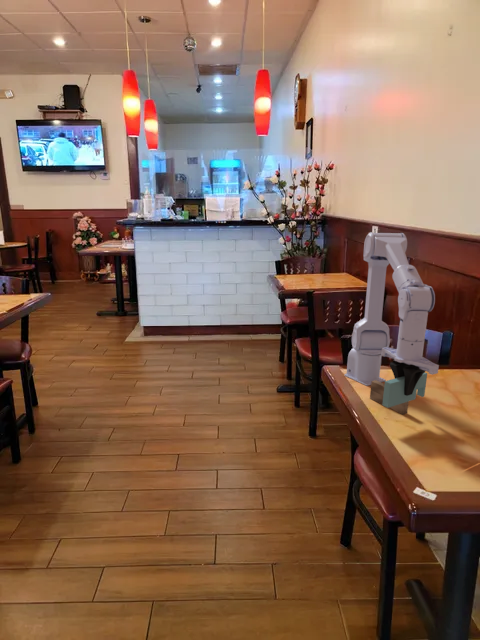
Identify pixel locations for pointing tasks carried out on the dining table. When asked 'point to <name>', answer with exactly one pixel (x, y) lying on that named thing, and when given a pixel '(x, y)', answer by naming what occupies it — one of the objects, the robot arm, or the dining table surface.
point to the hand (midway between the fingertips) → (404, 392)
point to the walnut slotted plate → (377, 396)
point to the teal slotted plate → (401, 391)
